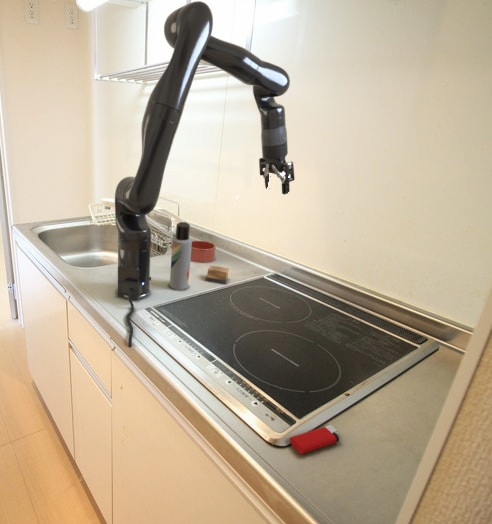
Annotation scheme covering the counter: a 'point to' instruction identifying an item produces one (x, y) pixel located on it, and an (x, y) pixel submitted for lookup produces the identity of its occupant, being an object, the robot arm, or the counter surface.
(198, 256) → the bowl
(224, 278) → the eraser
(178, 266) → the lotion bottle
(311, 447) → the lighter
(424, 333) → the counter surface
